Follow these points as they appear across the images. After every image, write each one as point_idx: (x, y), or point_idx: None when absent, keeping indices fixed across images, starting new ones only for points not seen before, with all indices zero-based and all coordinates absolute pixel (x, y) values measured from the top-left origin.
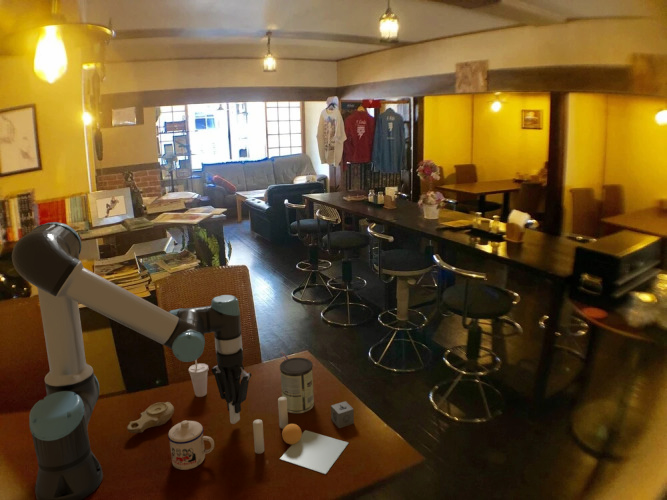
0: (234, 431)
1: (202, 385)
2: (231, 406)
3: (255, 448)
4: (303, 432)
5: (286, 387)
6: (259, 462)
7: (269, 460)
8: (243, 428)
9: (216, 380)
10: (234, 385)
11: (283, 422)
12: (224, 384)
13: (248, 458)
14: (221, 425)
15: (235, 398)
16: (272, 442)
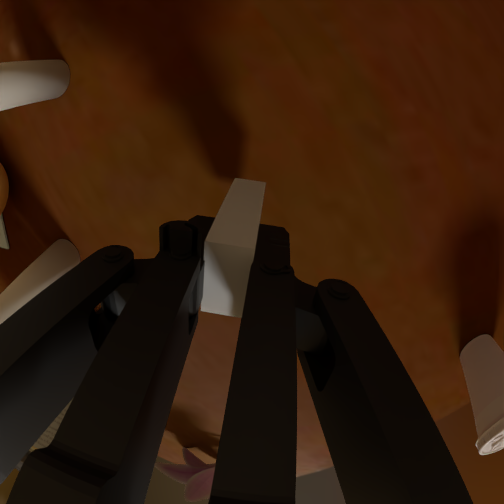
0: (234, 153)
1: (484, 376)
2: (227, 232)
3: (47, 60)
4: (4, 236)
5: (65, 409)
6: (32, 28)
7: (11, 58)
8: (202, 190)
9: (448, 472)
10: (65, 429)
11: (42, 254)
12: (294, 452)
13: (72, 18)
14: (332, 184)
15: (145, 282)
16: (42, 148)
